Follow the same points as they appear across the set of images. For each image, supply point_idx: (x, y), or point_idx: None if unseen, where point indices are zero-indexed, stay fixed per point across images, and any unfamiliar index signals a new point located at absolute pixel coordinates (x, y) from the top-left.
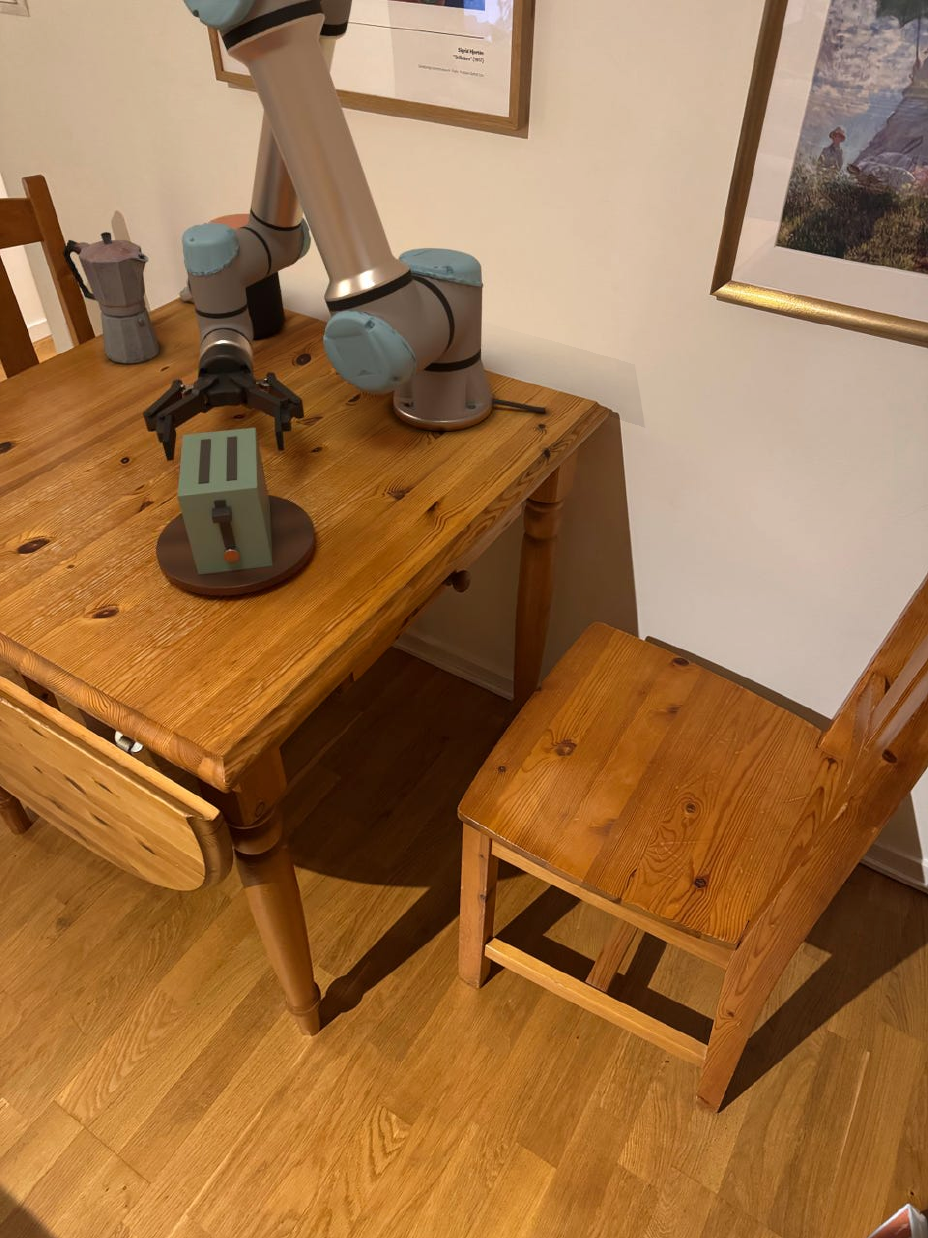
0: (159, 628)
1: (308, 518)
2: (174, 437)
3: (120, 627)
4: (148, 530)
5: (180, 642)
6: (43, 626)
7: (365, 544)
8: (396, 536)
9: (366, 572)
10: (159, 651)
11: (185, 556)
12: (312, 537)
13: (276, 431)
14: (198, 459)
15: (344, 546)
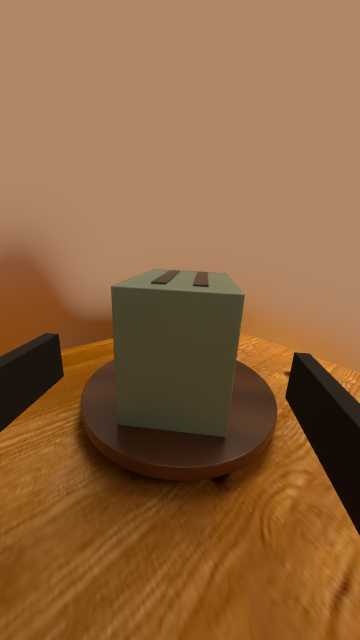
0: (244, 358)
1: (87, 387)
2: (330, 461)
3: (274, 363)
4: (321, 478)
5: None
6: (342, 375)
7: None
8: None
9: (78, 360)
10: (239, 348)
11: (234, 376)
12: (102, 367)
13: (55, 334)
14: (209, 279)
15: (70, 384)
